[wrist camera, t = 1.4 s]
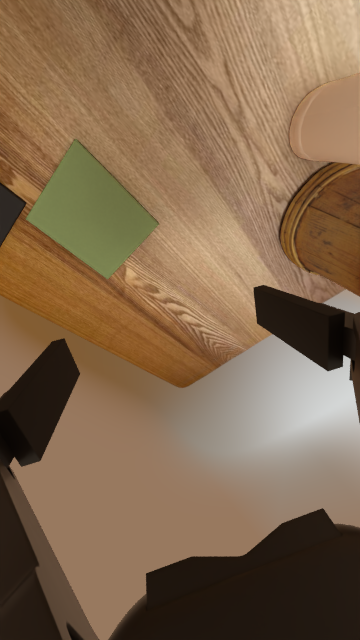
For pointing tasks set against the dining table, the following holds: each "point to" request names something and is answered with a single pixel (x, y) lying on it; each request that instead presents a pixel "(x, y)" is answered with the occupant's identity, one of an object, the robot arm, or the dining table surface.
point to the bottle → (329, 123)
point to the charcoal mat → (8, 210)
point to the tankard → (327, 226)
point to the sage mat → (91, 212)
